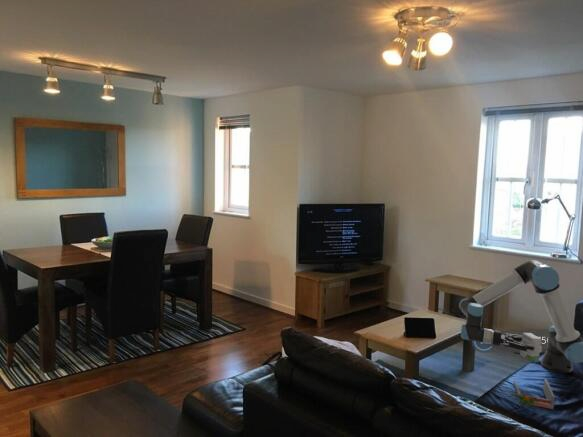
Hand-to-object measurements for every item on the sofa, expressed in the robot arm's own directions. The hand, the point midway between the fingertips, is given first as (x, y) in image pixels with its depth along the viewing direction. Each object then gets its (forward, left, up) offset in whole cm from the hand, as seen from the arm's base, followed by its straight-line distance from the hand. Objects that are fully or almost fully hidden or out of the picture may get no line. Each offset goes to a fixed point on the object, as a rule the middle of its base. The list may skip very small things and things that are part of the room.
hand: (540, 346), depth 239 cm
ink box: (+5, 0, -7) cm, 9 cm away
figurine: (+10, +29, -20) cm, 37 cm away
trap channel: (+4, +16, -20) cm, 26 cm away
